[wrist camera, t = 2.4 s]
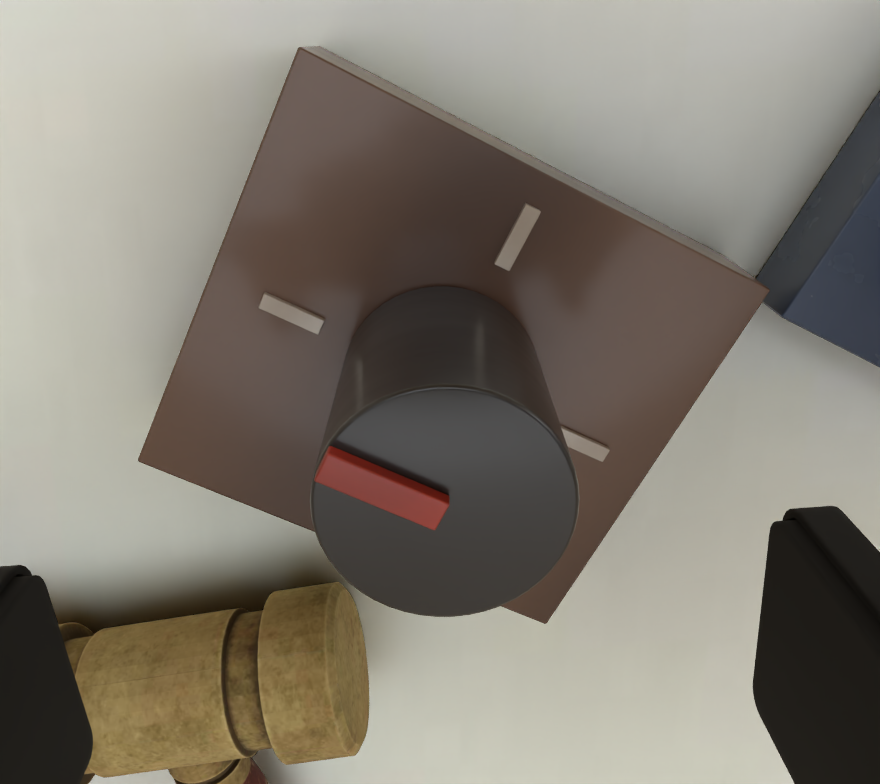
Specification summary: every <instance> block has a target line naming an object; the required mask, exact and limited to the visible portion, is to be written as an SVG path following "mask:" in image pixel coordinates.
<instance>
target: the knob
mask: <svg viewBox="0 0 880 784" xmlns="http://www.w3.org/2000/svg"><path fill="white" fill-rule="evenodd" d="M579 499H580V498H579V485H578V479H577V475H576V471H575V467H574V464H573V461H572V458H571V455H570V452H569V449H568V446H567V443H566V440H565V437H564V434H563V431H562V428H561V425H560V423H559V420H558V417H557V414H556V411H555V408H554V405H553V402H552V399H551V396H550V393H549V390H548V387H547V384H546V381H545V378H544V375H543V372H542V369H541V366H540V363H539V360H538V357H537V354H536V351H535V349H534V346H533V344H532V341H531V339H530V337H529V336H528V334H527V332H526V330H525V329H524V327H523V326H522V325H521V324H520V322H519V321H518V320H517V319H516V318H515V317H514V316H513V315H512V314H511V313H510V312H509V311H508V310H507V309H506V308H504V307H503V306H502V305H500V304H499V303H498V302H496V301H494V300H492V299H490V298H489V297H487V296H485V295H482V294H479V293H477V292H474V291H471V290H467V289H463V288H457V287H449V286H434V287H426V288H420V289H416V290H412V291H409V292H406V293H403V294H401V295H399V296H396V297H394V298H392V299H391V300H389V301H387V302H385V303H384V304H382V305H381V306H380V307H379V308H377V309H376V310H375V311H373V312H372V313H371V314H370V315H369V316H368V317H367V318H366V319H365V320H364V322H363V323H362V324H361V326H360V327H359V328H358V330H357V331H356V333H355V335H354V337H353V338H352V340H351V342H350V345H349V347H348V350H347V353H346V356H345V360H344V364H343V367H342V371H341V375H340V378H339V382H338V386H337V389H336V393H335V397H334V400H333V404H332V408H331V411H330V415H329V419H328V422H327V426H326V430H325V433H324V437H323V441H322V444H321V448H320V452H319V455H318V459H317V463H316V466H315V470H314V475H313V479H312V483H311V492H310V508H311V517H312V522H313V526H314V530H315V533H316V536H317V538H318V541H319V543H320V545H321V547H322V549H323V551H324V552H325V554H326V556H327V558H328V559H329V561H330V562H331V563H332V565H333V566H334V567H335V569H336V570H337V571H338V572H339V573H340V574H341V575H342V576H343V577H344V578H345V579H346V580H347V581H348V582H349V583H350V584H351V585H353V586H354V587H355V588H356V589H358V590H359V591H360V592H362V593H363V594H365V595H367V596H368V597H370V598H372V599H373V600H375V601H378V602H380V603H382V604H384V605H386V606H389V607H391V608H394V609H398V610H401V611H404V612H408V613H413V614H418V615H425V616H435V617H453V616H462V615H470V614H475V613H479V612H483V611H487V610H490V609H493V608H496V607H499V606H501V605H504V604H506V603H508V602H510V601H512V600H514V599H516V598H518V597H519V596H521V595H522V594H524V593H526V592H527V591H529V590H530V589H531V588H533V587H534V586H535V585H536V584H538V583H539V582H540V581H541V580H542V579H543V578H544V577H545V576H546V575H547V574H548V573H549V572H550V571H551V570H552V569H553V568H554V566H555V565H556V564H557V562H558V561H559V560H560V558H561V557H562V555H563V553H564V552H565V550H566V548H567V546H568V544H569V542H570V540H571V537H572V535H573V532H574V530H575V526H576V522H577V517H578V512H579Z"/></svg>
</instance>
